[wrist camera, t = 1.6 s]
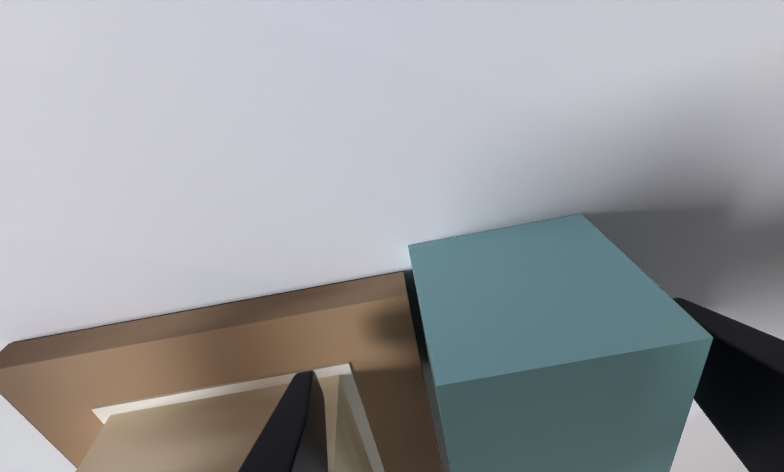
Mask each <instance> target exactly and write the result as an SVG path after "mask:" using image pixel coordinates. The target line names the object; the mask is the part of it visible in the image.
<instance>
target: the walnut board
mask: <svg viewBox="0 0 784 472" xmlns="http://www.w3.org/2000/svg"><path fill="white" fill-rule="evenodd" d="M309 370H313V371H314V372H315V373H316V375H317V378H323V377H328V376H334V375H339V376H340V379H341V382H342V385H343V387H344V390H345V393H346V396H347V399H348V402H349V404H350V407H351V410H352V413H353V416H354V419H355V421H356V424H357V427H358V430H359V433H360V436H361V438H362V441H363V444H364V447H365V450H366V453H367V455H368V458H369V461H370V464H371V467H372V470H373V472H442V468H441V463H440V458H439V453H438V447H437V442H436V437H435V432H434V427H433V422H432V417H431V411H430V406H429V401H428V396H427V391H426V386H425V381H424V375H423V370H422V365H421V360H420V355H419V350H418V345H417V339H416V334H415V329H414V324H413V319H412V314H411V309H410V303H409V298H408V293H407V288H406V283H405V278H404V273H403V272H397V273H392V274H387V275H381V276H376V277H370V278H365V279H359V280H354V281H348V282H343V283H337V284H332V285H326V286H321V287H316V288H310V289H305V290H299V291H294V292H288V293H283V294H277V295H272V296H266V297H261V298H255V299H250V300H245V301H239V302H234V303H228V304H223V305H217V306H212V307H206V308H201V309H195V310H190V311H185V312H179V313H174V314H168V315H163V316H157V317H152V318H146V319H141V320H135V321H130V322H124V323H119V324H114V325H108V326H103V327H97V328H92V329H86V330H81V331H75V332H70V333H64V334H59V335H54V336H48V337H43V338H37V339H32V340H26V341H21V342H15V343H10V344H8V345H7V346H6V347H5V348H4V349H3V350H2V351H1V352H0V394H1V395H2V396H3V397H4V398H5V399H6V400H7V401H8V402H9V403H10V404H11V405H12V406H13V407H14V408H15V409H16V410H17V411H18V412H19V413H20V414H22V415H23V416H24V417H25V418H26V419H27V420H28V421H29V422H30V423H31V424H32V425H33V426H34V427H35V428H36V429H37V430H38V431H39V432H40V433H41V434H42V435H43V436H44V437H45V438H46V439H47V440H48V441H49V442H50V443H51V444H52V445H53V446H54V447H55V448H56V449H57V450H59V451H60V452H61V453H62V454H63V455H64V456H65V457H66V458H67V459H68V460H69V461H70V462H71V463H72V464H73V465H74V466H75V467H76V468H77V469H78V467H79V465H80V464H81V462H82V460H83V459H84V457H85V455H86V454H87V452H88V451H89V449H90V447H91V446H92V444H93V442H94V441H95V439H96V437H97V436H98V434H99V432H100V431H101V429H102V428H103V426H104V424H105V423H106V421H107V419H108V418H109V416H110V415H114V414H120V413H125V412H131V411H137V410H142V409H148V408H154V407H159V406H165V405H170V404H176V403H182V402H187V401H193V400H199V399H204V398H210V397H216V396H221V395H227V394H233V393H238V392H244V391H249V390H255V389H261V388H266V387H272V386H278V385H283V384H289V383H290V382H291V380H292V378H293V377H294V375H295V374H297V373H299V372H304V371H309Z"/></svg>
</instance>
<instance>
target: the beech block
mask: <svg viewBox="0 0 784 472" xmlns="http://www.w3.org/2000/svg"><path fill="white" fill-rule="evenodd" d="M318 381H319V383H320V386H321V389H322V391H323V395H324V401H325V418H326V437H327V455H328V472H373V470H372V467H371V464H370V461H369V458H368V455H367V453H366V450H365V447H364V444H363V441H362V438H361V436H360V433H359V430H358V427H357V424H356V421H355V419H354V416H353V413H352V410H351V407H350V404H349V402H348V399H347V396H346V393H345V390H344V387H343V385H342V382H341V379H340V376H339V375H334V376H328V377H323V378H318ZM289 384H290V383H289ZM289 384H283V385H278V386H272V387H266V388H261V389H255V390H249V391H244V392H238V393H233V394H227V395H221V396H216V397H210V398H204V399H199V400H193V401H187V402H182V403H176V404H170V405H165V406H159V407H154V408H148V409H142V410H137V411H131V412H125V413H120V414H114V415H110V416H109V418H108V419H107V421H106V423H105V424H104V426H103V428H102V429H101V431H100V432H99V434H98V436H97V437H96V439H95V441H94V442H93V444H92V446H91V447H90V449H89V451H88V452H87V454H86V455H85V457H84V459H83V460H82V462H81V464H80V465H79V467H78V469H77V470H76V472H238V470H239V469H240V467H241V465H242V463H243V462H244V460H245V458H246V457H247V455H248V453H249V452H250V450H251V448H252V446H253V445H254V443H255V441H256V440H257V438H258V436H259V435H260V433H261V431H262V429H263V428H264V426H265V424H266V423H267V421H268V419H269V418H270V416H271V414H272V412H273V411H274V409H275V407H276V406H277V404H278V402H279V401H280V399H281V397H282V395H283V394H284V392H285V390H286V389H287V387H288V385H289Z"/></svg>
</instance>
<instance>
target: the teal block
mask: <svg viewBox="0 0 784 472" xmlns="http://www.w3.org/2000/svg"><path fill="white" fill-rule="evenodd" d="M408 248H409V253H410V259H411V264H412V270H413V276H414V281H415V287H416V292H417V298H418V303H419V309H420V315H421V320H422V326H423V331H424V337H425V342H426V348H427V354H428V359H429V365H430V370H431V375H432V380H433V385H434V390H435V396H436V401H437V406H438V411H439V416H440V421H441V426H442V432H443V437H444V442H445V447H446V452H447V457H448V462H449V468H450V472H669V471H670V468H671V465H672V462H673V459H674V456H675V453H676V450H677V447H678V444H679V441H680V438H681V435H682V432H683V429H684V426H685V423H686V420H687V417H688V413H689V410H690V407H691V404H692V401H693V398H694V395H695V392H696V389H697V386H698V383H699V380H700V377H701V374H702V371H703V368H704V365H705V362H706V359H707V356H708V352H709V349H710V346H711V343H712V340H713V337H712V336H711V335H710V334H709V333H708V332H707V331H706V330H705V329H704V328H703V327H702V326H701V325H700V324H698V323H697V322H696V321H695V320H694V319H693V318H692V317H691V316H690V315H689V314H688V313H687V312H686V311H685V310H684V309H683V308H681V307H680V306H679V305H678V304H677V303H676V302H675V301H674V300H673V299H672V298H671V297H670V296H669V295H668V294H667V293H665V292H664V291H663V290H662V289H661V288H660V287H659V286H658V285H657V284H656V283H655V282H654V281H653V280H652V279H651V278H650V277H648V276H647V275H646V274H645V273H644V272H643V271H642V270H641V269H640V268H639V267H638V266H637V265H636V264H635V263H634V262H632V261H631V260H630V259H629V258H628V257H627V256H626V255H625V254H624V253H623V252H622V251H621V250H620V249H619V248H618V247H617V246H615V245H614V244H613V243H612V242H611V241H610V240H609V239H608V238H607V237H606V236H605V235H604V234H603V233H602V232H601V231H599V230H598V229H597V228H596V227H595V226H594V225H593V224H592V223H591V222H590V221H589V220H588V219H587V218H586V217H585V216H584V215H582V214H581V213H580V214H575V215H569V216H564V217H559V218H553V219H548V220H542V221H537V222H532V223H526V224H521V225H515V226H510V227H504V228H499V229H494V230H488V231H483V232H477V233H472V234H467V235H461V236H456V237H450V238H445V239H440V240H434V241H429V242H423V243H418V244H413V245H408Z"/></svg>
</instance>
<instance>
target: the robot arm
mask: <svg viewBox="0 0 784 472" xmlns="http://www.w3.org/2000/svg"><path fill="white" fill-rule="evenodd" d="M672 299H673V300H674V301H675V302H676V303H677V304H678V305H679V306H680V307H681V308H683V309H684V310H685V311H686V312H687V313H688V314H689V315H690V316H691V317H692V318H693V319H694V320H695V321H696V322H697V323H698V324H700V325H701V326H702V327H703V328H704V329H705V330H706V331H707V332H708V333H709V334H710V335H711V336H712V337H713V340H712V343H711V346H710V349H709V352H708V356H707V359H706V362H705V365H704V368H703V371H702V374H701V377H700V380H699V383H698V386H697V389H696V392H695V395H694V400H695V401H696V402H697V404H698V405H699V407H700V408H701V409H702V410H703V412H704V413H705V414H706V416H707V417H708V418H709V420H710V421H711V422H712V424H713V425H714V426H715V427H716V429H717V430H718V431H719V433H720V434H721V435H722V437H723V438H724V439H725V441H726V442H727V443H728V445H729V446H730V447H731V449H732V450H733V451H734V452H735V454H736V455H737V456H738V458H739V459H740V460H741V461H742V463H743V464H744V465H745V467H746V468H747V469H748V471H749V472H784V341H783V340H781V339H779V338H776V337H774V336H771V335H769V334H767V333H764V332H762V331H759V330H757V329H755V328H752V327H750V326H747V325H745V324H743V323H740V322H738V321H735V320H733V319H731V318H728V317H726V316H723V315H721V314H719V313H716V312H714V311H711V310H709V309H706V308H704V307H702V306H699V305H697V304H694V303H692V302H690V301H687V300H685V299H682V298H672ZM238 472H328V455H327V437H326V418H325V401H324V395H323V391H322V389H321V386H320V383H319V381H318V378H317V375H316V373H315V372H314V371H313V370H309V371H304V372H299V373H297V374H295V375H294V377H293V378H292V380H291V382H290V384H289V385H288V387H287V389H286V390H285V392H284V394H283V395H282V397H281V399H280V401H279V402H278V404H277V406H276V407H275V409H274V411H273V412H272V414H271V416H270V418H269V419H268V421H267V423H266V424H265V426H264V428H263V429H262V431H261V433H260V435H259V436H258V438H257V440H256V441H255V443H254V445H253V446H252V448H251V450H250V452H249V453H248V455H247V457H246V458H245V460H244V462H243V463H242V465H241V467H240V469H239V470H238Z"/></svg>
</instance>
